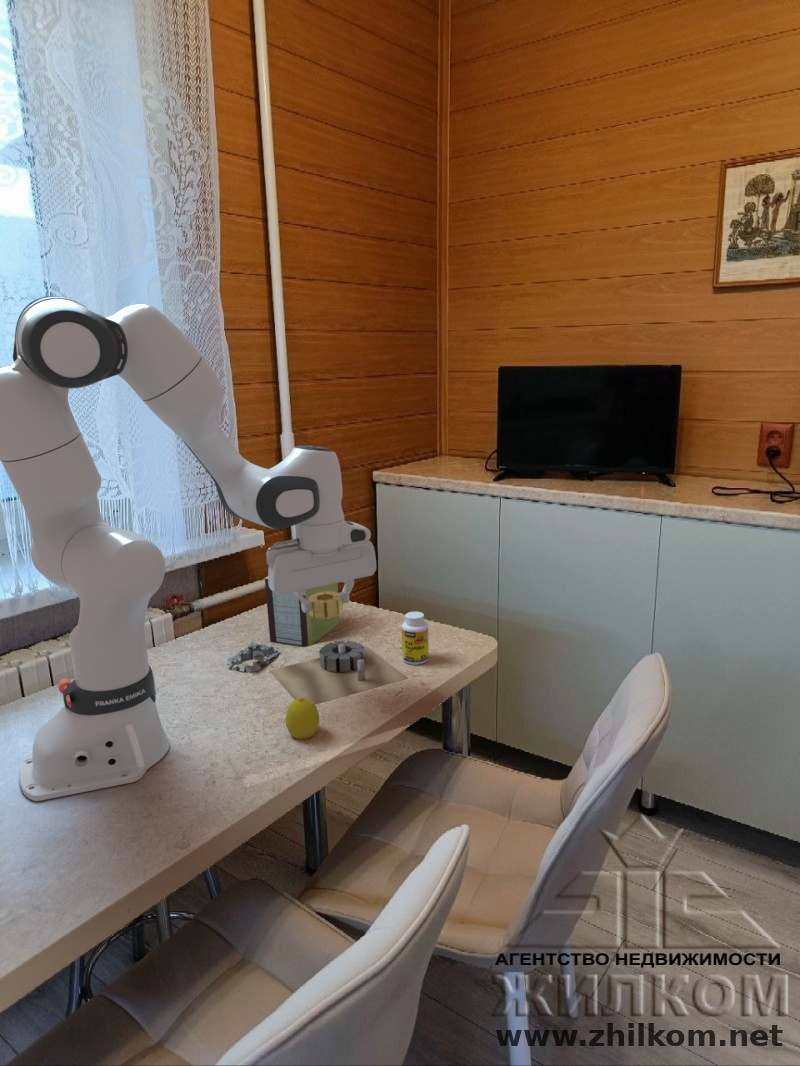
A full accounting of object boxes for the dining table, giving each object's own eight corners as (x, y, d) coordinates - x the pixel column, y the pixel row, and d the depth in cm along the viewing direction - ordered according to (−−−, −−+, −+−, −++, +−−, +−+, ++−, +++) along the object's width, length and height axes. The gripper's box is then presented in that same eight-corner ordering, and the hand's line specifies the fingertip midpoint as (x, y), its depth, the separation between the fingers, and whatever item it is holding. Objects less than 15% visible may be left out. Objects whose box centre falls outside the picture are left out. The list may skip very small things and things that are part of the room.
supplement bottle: (401, 665, 146) (400, 619, 143) (403, 654, 151) (402, 609, 148) (428, 666, 145) (427, 619, 143) (429, 654, 150) (428, 609, 148)
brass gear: (317, 621, 126) (316, 605, 125) (304, 610, 131) (303, 595, 130) (347, 613, 129) (346, 598, 128) (334, 604, 134) (333, 589, 133)
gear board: (302, 715, 127) (301, 687, 125) (269, 677, 142) (267, 652, 141) (408, 684, 137) (407, 659, 136) (366, 652, 152) (365, 628, 151)
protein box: (340, 623, 169) (337, 561, 165) (308, 648, 156) (304, 582, 152) (302, 618, 173) (298, 558, 169) (268, 642, 159) (263, 577, 156)
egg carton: (255, 682, 141) (253, 664, 140) (224, 676, 144) (222, 658, 143) (283, 660, 150) (282, 643, 149) (254, 655, 153) (252, 638, 152)
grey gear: (331, 676, 138) (330, 663, 137) (313, 659, 146) (312, 646, 145) (372, 665, 142) (371, 652, 141) (352, 649, 150) (352, 637, 149)
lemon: (314, 750, 116) (311, 707, 113) (282, 748, 117) (279, 704, 115) (324, 733, 121) (322, 691, 119) (294, 730, 122) (291, 688, 120)
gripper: (271, 549, 119) (278, 624, 122) (378, 529, 128) (381, 600, 132) (259, 540, 124) (266, 613, 128) (363, 522, 133) (366, 590, 137)
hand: (325, 606), depth 130 cm, fingers closed on brass gear, 6 cm apart
